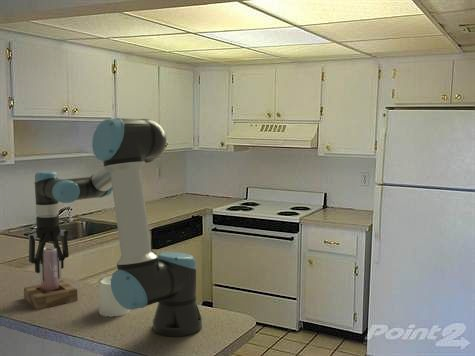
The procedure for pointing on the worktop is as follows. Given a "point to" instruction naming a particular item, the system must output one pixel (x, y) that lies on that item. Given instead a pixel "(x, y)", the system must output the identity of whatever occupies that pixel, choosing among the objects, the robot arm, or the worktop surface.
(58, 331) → the worktop surface
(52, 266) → the beverage can
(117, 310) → the mug
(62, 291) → the socket block
